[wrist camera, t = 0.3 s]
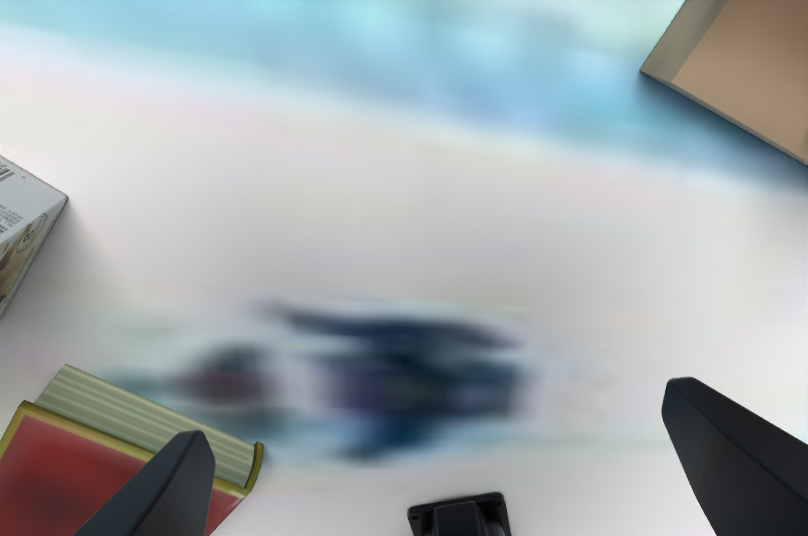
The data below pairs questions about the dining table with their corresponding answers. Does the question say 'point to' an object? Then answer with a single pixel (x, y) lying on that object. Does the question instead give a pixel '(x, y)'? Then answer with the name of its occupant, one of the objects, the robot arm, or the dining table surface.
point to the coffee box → (22, 224)
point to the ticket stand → (742, 65)
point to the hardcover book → (99, 455)
